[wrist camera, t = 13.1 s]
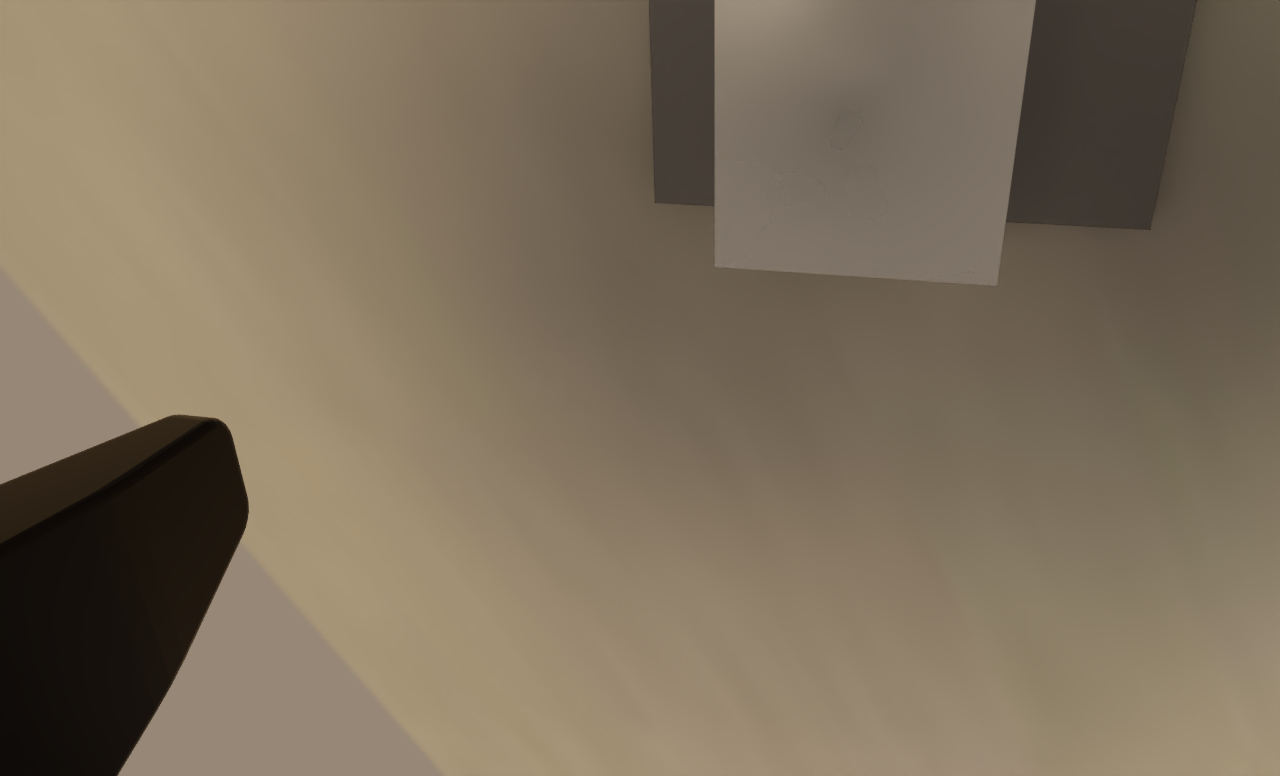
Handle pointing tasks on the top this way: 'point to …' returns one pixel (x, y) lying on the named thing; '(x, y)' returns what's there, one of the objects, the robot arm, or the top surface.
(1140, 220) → the rubber pad
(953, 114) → the lever cap
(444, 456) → the top surface
